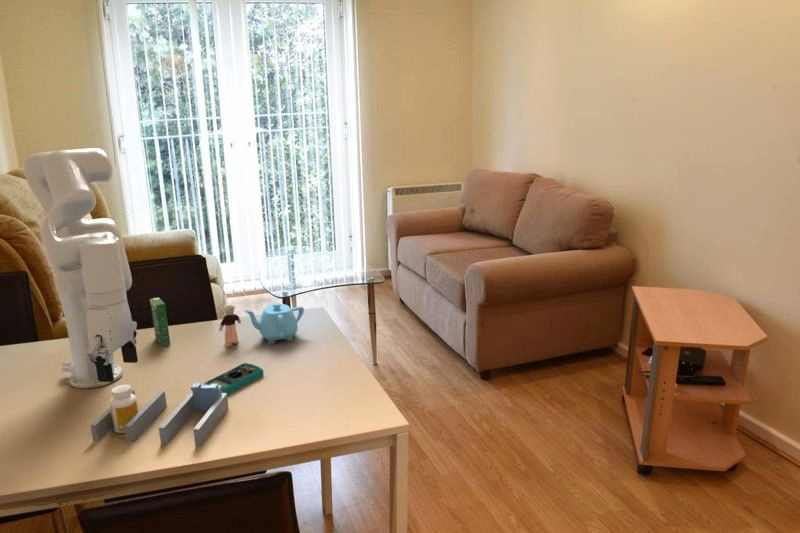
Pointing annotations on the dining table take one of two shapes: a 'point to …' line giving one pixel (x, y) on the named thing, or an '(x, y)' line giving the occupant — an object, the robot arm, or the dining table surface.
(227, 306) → the grandmother figurine
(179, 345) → the dining table surface
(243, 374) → the digital multimeter
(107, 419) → the grey parallel walls
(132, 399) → the supplement bottle
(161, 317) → the coffee box
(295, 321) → the teapot
